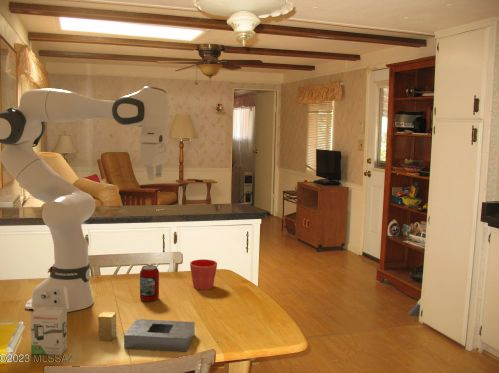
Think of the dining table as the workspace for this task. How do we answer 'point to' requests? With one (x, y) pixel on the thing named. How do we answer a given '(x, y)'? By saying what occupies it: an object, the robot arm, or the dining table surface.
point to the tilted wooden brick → (107, 326)
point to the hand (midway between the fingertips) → (155, 178)
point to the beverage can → (149, 283)
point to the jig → (159, 335)
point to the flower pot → (203, 273)
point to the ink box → (48, 330)
